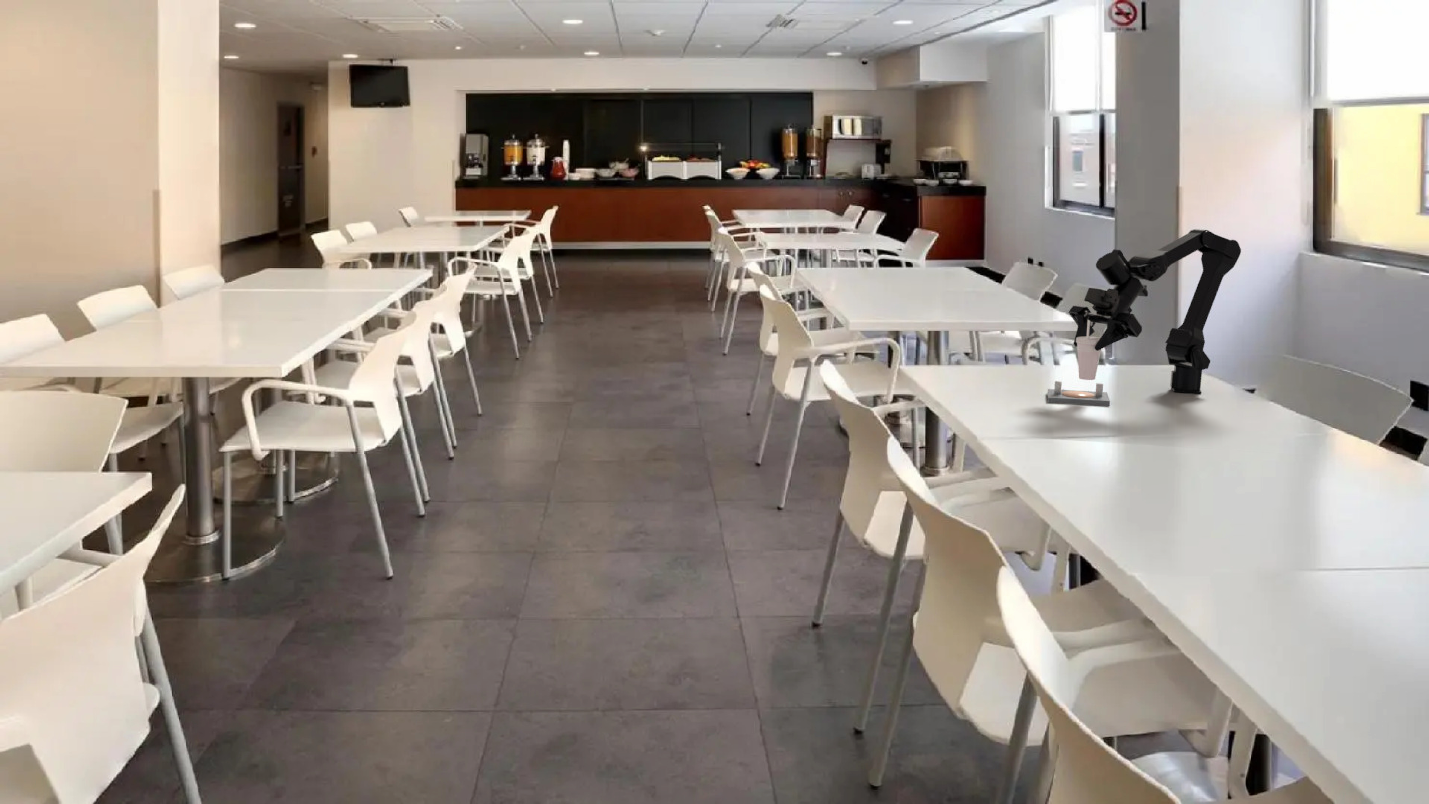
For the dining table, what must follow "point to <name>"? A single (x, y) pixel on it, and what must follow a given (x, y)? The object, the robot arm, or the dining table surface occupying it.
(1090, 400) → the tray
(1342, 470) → the dining table surface
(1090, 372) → the smoothie
